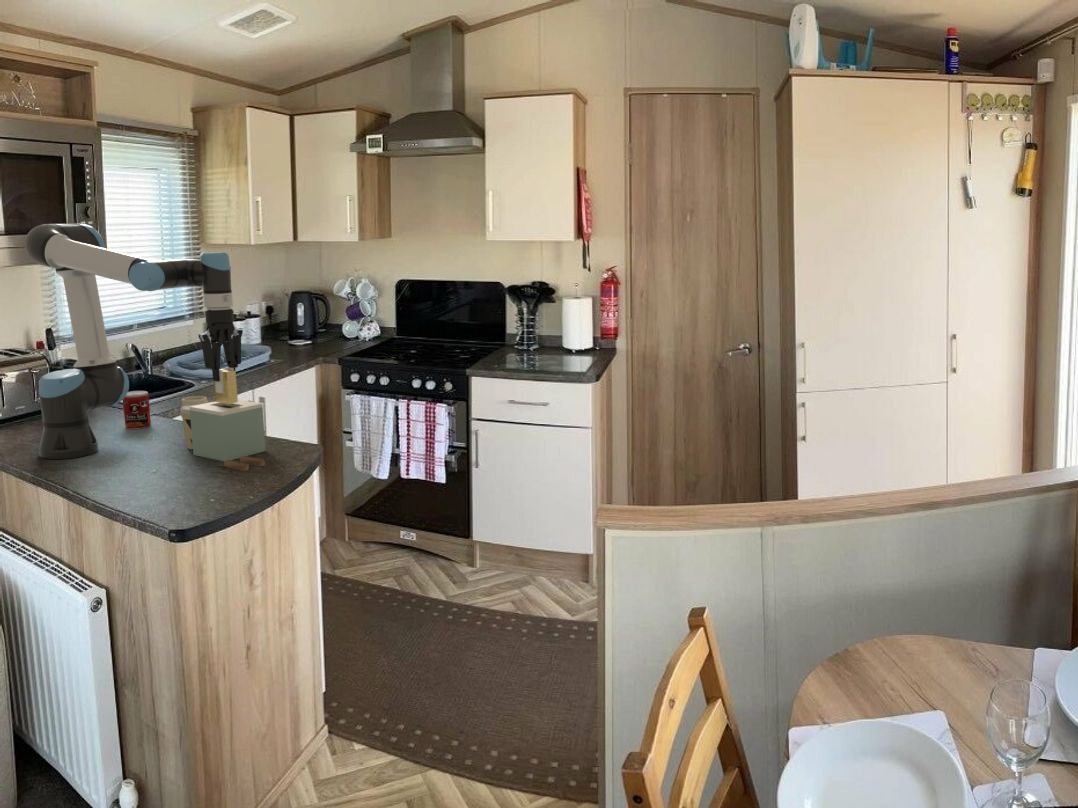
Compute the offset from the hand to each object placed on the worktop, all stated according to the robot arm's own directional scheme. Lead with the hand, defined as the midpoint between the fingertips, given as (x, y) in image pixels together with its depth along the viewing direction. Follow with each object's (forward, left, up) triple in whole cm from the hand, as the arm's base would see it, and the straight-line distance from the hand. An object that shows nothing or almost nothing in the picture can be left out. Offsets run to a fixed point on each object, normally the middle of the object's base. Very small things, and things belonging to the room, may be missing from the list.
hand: (225, 391), depth 259 cm
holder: (-7, -15, -18) cm, 24 cm away
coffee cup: (0, +13, -18) cm, 23 cm away
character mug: (+4, +20, -18) cm, 28 cm away
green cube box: (0, 0, -18) cm, 18 cm away
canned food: (+6, +53, -18) cm, 56 cm away
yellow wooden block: (0, 0, -3) cm, 3 cm away
